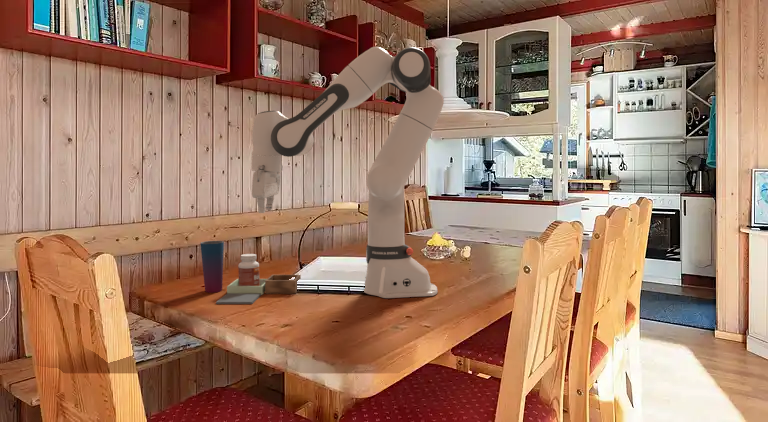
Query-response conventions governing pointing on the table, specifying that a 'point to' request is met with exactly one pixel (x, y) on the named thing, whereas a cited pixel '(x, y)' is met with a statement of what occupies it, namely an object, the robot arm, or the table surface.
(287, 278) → the crate
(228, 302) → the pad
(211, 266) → the cup
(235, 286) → the rim tray
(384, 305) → the table surface
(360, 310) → the table surface
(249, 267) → the pill bottle
